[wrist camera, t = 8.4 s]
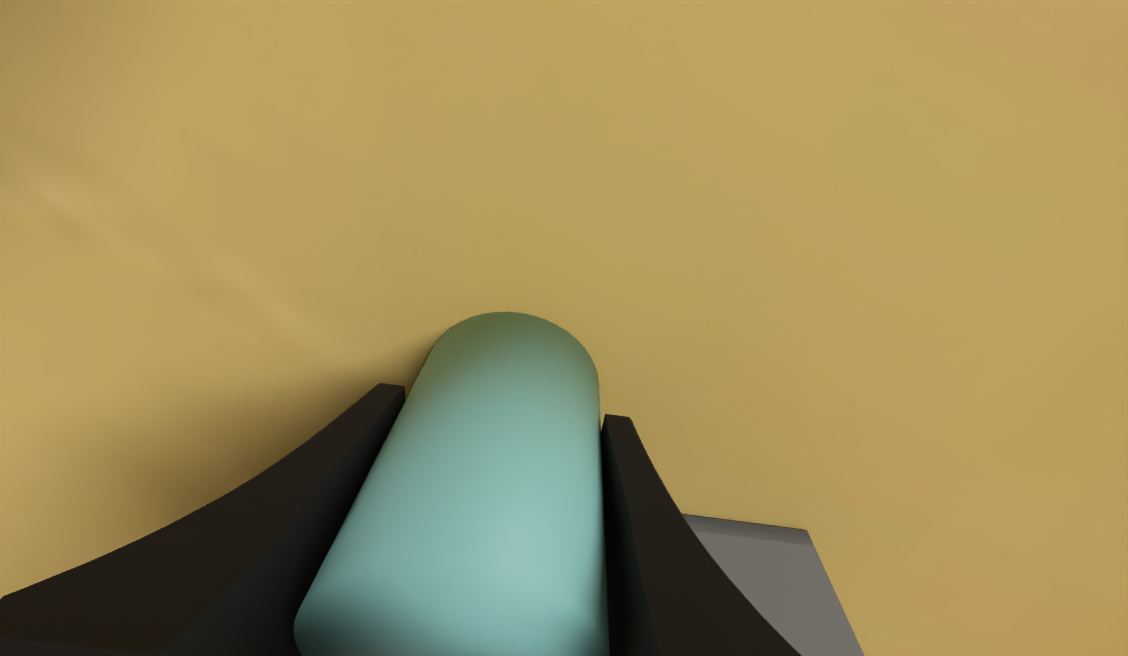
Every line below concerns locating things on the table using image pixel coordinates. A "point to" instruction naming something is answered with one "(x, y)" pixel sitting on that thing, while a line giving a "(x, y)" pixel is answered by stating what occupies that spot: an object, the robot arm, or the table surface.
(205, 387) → the table surface
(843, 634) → the tote
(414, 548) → the teal cylinder
